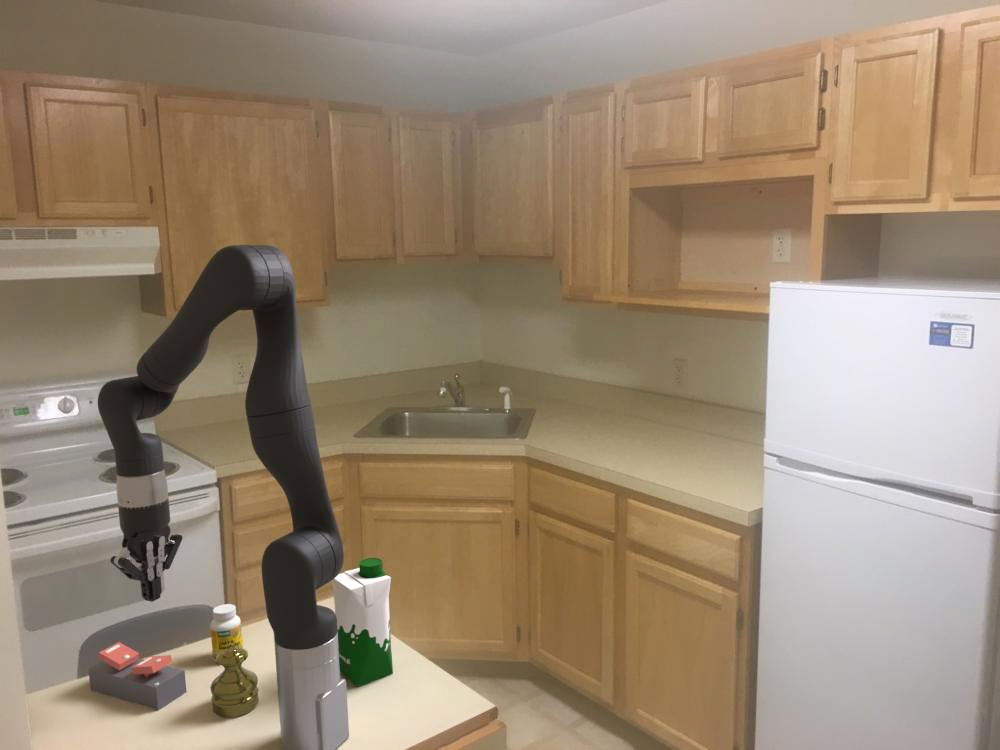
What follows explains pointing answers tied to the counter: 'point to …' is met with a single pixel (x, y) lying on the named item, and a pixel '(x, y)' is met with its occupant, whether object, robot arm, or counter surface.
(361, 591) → the milk carton
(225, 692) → the gold chess piece
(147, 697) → the switch box
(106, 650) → the far rocker
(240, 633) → the supplement bottle
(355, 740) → the counter surface
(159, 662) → the near rocker
